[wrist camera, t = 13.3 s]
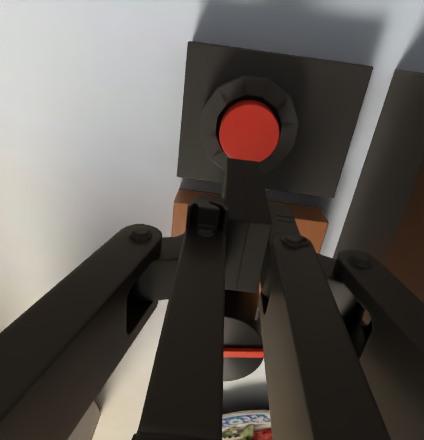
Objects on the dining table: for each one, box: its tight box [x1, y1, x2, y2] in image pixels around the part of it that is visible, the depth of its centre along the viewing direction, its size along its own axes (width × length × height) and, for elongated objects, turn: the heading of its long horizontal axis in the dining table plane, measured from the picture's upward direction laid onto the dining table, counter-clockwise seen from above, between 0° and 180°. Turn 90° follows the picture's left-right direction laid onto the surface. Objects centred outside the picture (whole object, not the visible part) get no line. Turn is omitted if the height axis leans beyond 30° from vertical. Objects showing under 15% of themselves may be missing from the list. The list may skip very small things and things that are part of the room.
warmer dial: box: [223, 289, 264, 381], centre depth 28 cm, size 6×6×10 cm
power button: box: [219, 99, 279, 162], centre depth 24 cm, size 4×4×2 cm
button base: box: [177, 42, 373, 198], centre depth 27 cm, size 13×10×4 cm
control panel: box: [171, 189, 328, 293], centre depth 33 cm, size 13×11×3 cm
